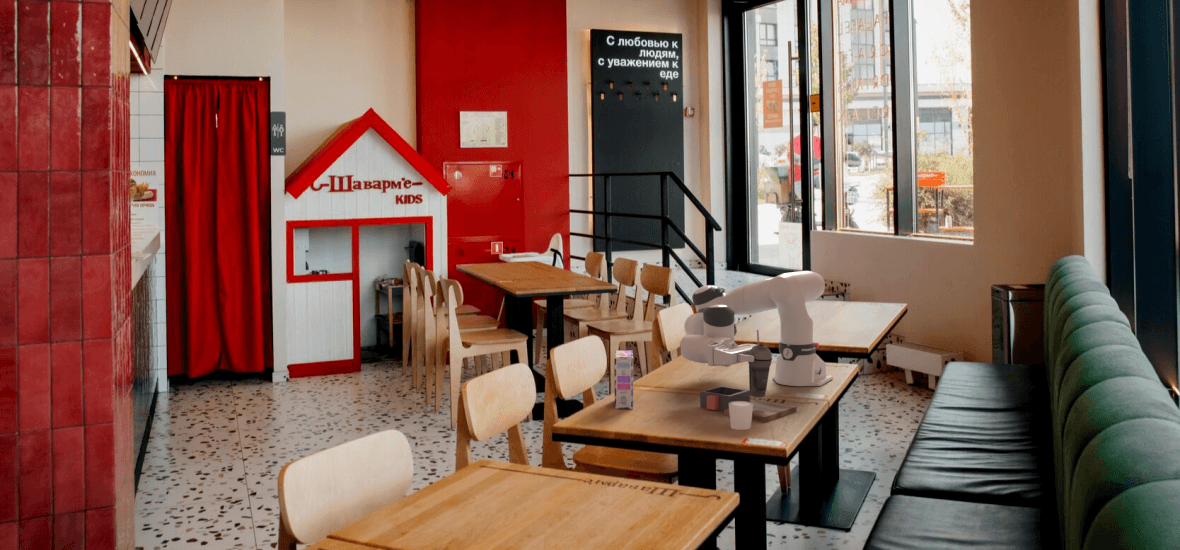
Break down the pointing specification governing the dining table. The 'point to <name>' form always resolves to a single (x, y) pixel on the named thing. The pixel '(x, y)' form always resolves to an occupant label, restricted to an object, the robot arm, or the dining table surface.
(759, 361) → the beverage cup
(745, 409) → the white cup
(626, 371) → the candy box
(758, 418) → the walnut mat
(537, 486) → the dining table surface
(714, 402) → the dark grey open box
